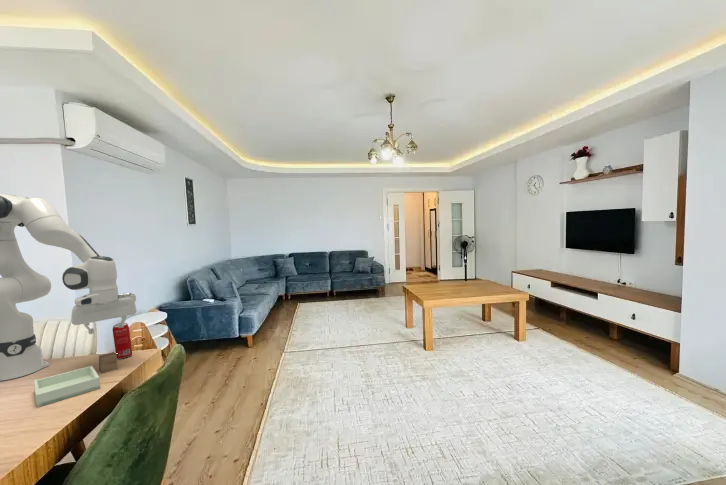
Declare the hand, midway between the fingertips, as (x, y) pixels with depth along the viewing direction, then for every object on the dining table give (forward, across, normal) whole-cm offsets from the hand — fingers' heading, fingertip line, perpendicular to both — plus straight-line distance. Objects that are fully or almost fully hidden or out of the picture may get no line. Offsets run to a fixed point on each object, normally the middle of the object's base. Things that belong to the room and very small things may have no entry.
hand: (106, 330), depth 127 cm
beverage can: (+16, -7, -11) cm, 21 cm away
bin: (+16, +13, +10) cm, 23 cm away
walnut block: (+16, 0, 0) cm, 16 cm away
